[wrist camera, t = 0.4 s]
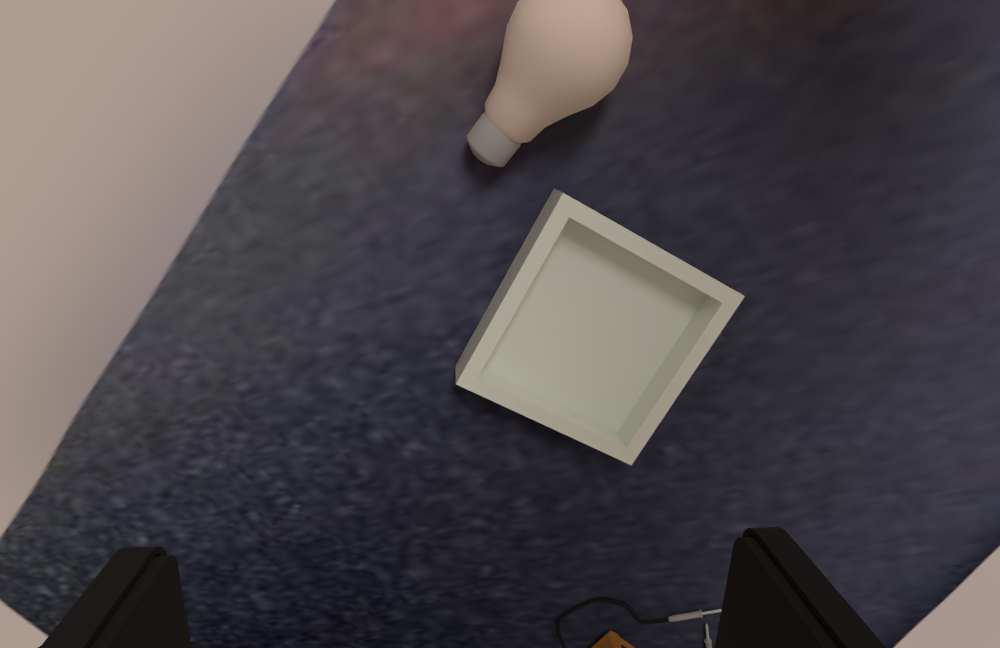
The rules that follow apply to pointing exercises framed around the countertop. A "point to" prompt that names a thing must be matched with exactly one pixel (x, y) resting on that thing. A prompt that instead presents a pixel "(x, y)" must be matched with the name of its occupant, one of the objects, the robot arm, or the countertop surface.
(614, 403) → the tray
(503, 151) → the light bulb
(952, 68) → the countertop surface
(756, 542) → the robot arm
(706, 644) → the multimeter
